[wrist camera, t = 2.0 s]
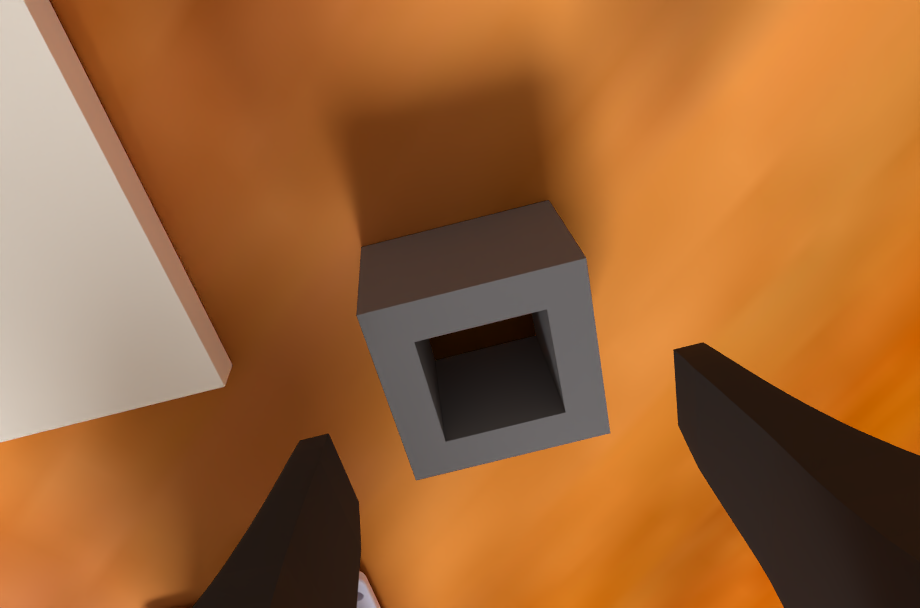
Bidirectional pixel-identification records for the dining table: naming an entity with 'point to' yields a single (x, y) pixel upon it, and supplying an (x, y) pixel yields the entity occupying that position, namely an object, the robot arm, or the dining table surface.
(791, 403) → the robot arm
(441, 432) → the square frame block
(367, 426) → the dining table surface
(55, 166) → the peg base
